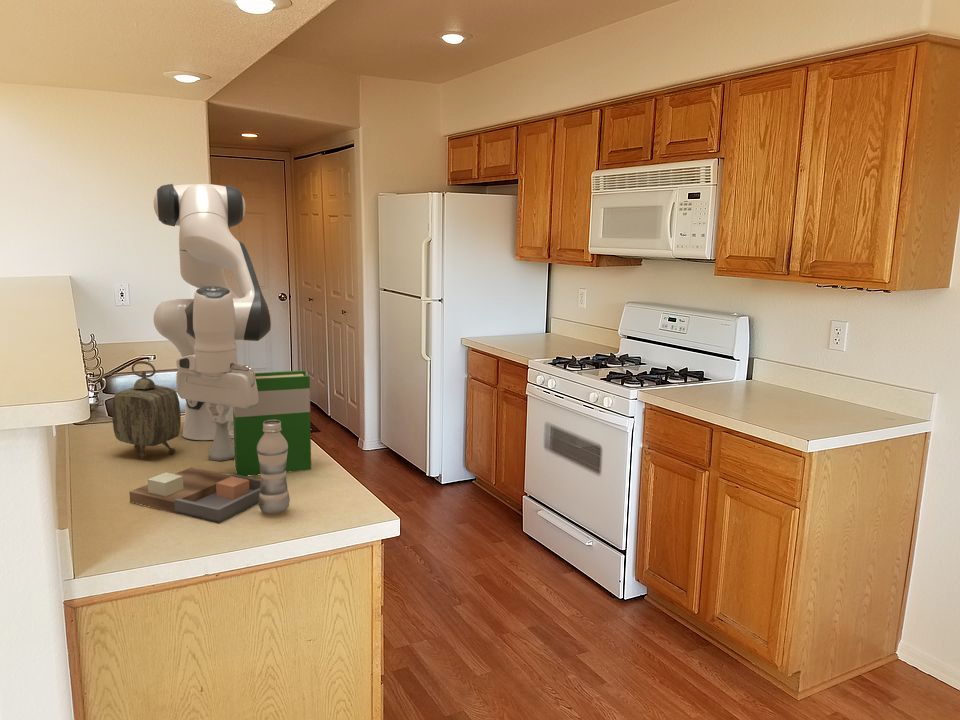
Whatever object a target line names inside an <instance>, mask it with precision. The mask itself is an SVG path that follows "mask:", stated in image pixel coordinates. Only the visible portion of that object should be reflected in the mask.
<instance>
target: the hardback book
mask: <svg viewBox="0 0 960 720" xmlns="http://www.w3.org/2000/svg"><path fill="white" fill-rule="evenodd" d="M310 377H311V376H310V375H306V370H303V369H302V370H287V371H284V370H283V371H269V372H268V371H267V372H266V371H265V372H255V379H256V384H257V389H258V399H259V401H258V403H257V405H256V406H254V407H252V408H248V409H244V408H238V407H233V423H234V438H233V445H234V450H235V458H234V469H235V468H236V469H235V473H236V472H237V473H236V474H237V475H242V476H247V477H249V476H248V475H254V476H259V475H258V474H260V464H259V459H258V454H257V444H258V442H259V440H260V439H261V437H262V436H263V434H264V432H263V422H264V421H268V420H279V421H281V431H280V433H281V434H282V435H283V437H284V438H285V440H286V441H287V444H288V452H287V461H286V473H290V472H289V471H293V472H299V470H303V471H310V469H311V470H312V441H311V440H312V439H311V436H312V435H311V434H312V433H311V386H310V385H311V382H310V381H311V380H310Z"/></svg>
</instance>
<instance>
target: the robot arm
mask: <svg viewBox="0 0 960 720" xmlns="http://www.w3.org/2000/svg"><path fill="white" fill-rule="evenodd" d="M153 197H154V198H153V209H154V214H156V216H157V218H158V221H160V223H162V224H163V225H165V226H170V227H176V226H179V233H178V234H179V236H178V246H179V247H178V248H179V249H178V251H179V252H178V254H179V268H180V276H181V278H182V279H183V280H184V282H186V283H187V284H188V285H190V286H192V287H194V288H197V289H196V290H195V291H194V295H193V298H176V299H171V300H167V301H161V302H160V303H159V304H158V306H157V307H156V308H155V310H154V313H153V325H154V327H155V329H156V330H157V331H156V332H158V333H159V334H160V335H161V336H162V337H164V338H165V339H167V340H168V341H170V342H171V343H172V344H173V345H174V346H175V348H177V350H178V352H179V354H180V355H181V357H178V358H177V359H176V360H175V364H176V367H177V368H178V369H177V371H176V378H175V379H176V380H175V381H176V393H177V395H178V398H180V399H182V400H185V401H186V403H185V408H184V409H185V410H184V421H183V423H184V424H183V426H182V437H183V438H185V439H188V440H193V441H194V440H195V441H214V438H215V435H216V428H217V427H216V423H220V424H223V423H225V422H226V419H228V420H229V422H228V424H227V425H228V431H229V435H230V438H231V439H234V423H233V407H238V408H244V409H248V408H252V407H254V406H256V405H257V403H258V401H259V399H258V389H257V384H256V379H255V373H256V372H255V371H254V370H253V369H252V368H251V367H250V366H249V365H246V364H245V365H242V364H239V363H238V346H237V342H236V341H239V340H240V341H249V342H250V341H251V342H252V341H253V342H259V341H260V340H261V339H263V338H264V337H265V336H266V335H268V333H269V332H270V331H271V327H272V314H271V310H270V309H269V307H268V306H269V305H268V304H267V302H266V299H265V297H264V295H263V293H262V289H261V285H260V283H259V280H258V277H257V275H256V271H255V268H254V266H253V262H252V260H251V257H250V254H249V251H248V250H247V248H246V245H245V244H244V243H243V242H242V241H239V240H238V239H237V238H235V236H234V235H233V233H231V231H230V228H233V227H235V226H238V225H239V224H240V223H241V222H243V220H244V217H245V214H246V205H247V204H246V201H245V198H244V196H243V193H242V191H241V190H240V189H239V188H238V187H235V186H232V185H219V184H212V183H211V184H210V183H198V184H197V183H185V184H173V183H170V184H163V185H161V186H159V187H158V188H157V190H156V193H155V194H154V196H153ZM225 270H228V271H229V272H230V273H233V274H234V276H235V277H236V279H237V282H238V285H239V290H240V292H241V295H242V297H239V296H238V295H236V293H234V292H233V290H232V289H231V287H230V286H229V284H228V281H227V278H226V274H225Z"/></svg>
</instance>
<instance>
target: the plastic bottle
mask: <svg viewBox="0 0 960 720" xmlns="http://www.w3.org/2000/svg"><path fill="white" fill-rule="evenodd" d="M280 431H281V421H279V420H268V421H264V422H263V432H264V434H263V436H262V437H261V439H260V440H259V442H258V444H257V454H258V459H259V464H260V475H259V476H260V479H261V481H260V493H259V501H258V503H259V504H258V508H259V510H260V511H261V512H262V513H263V514H266V515H279V514H282V513H285V512H286V511H287V509H288V508H289V507H290V500H291V499H290V493H289V488H288V481H287V472H286V461H287V452H288V444H287V441H286V440H285V438H284V437H283V435H282V434H281V433H280Z"/></svg>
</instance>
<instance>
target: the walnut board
mask: <svg viewBox="0 0 960 720" xmlns="http://www.w3.org/2000/svg"><path fill="white" fill-rule="evenodd" d="M174 474H176V475H180V476H183V489H182V490H180V491H177V492H175V493H173V494H170V495H168V496H162V495H157V494H153V493H149V492H148V483H147V484H145V485H143V486H140V487H137V488H134V489H132V490H129V503H131V502H134V503H133V504H135V503H138V504H137V505H139V504H142V505H141V506H143V505H146V506H145V507H147V506H150V507H149V508H151V507H154V508H153V509H156V508H157V510H160V509H161V510H160V511H164V510H165V511H164V512H168V511H169V512H168V513H172V512H173V513H174V514H176V513H175V503H174V500H175V499H177V498H179V499H184V500H188V501H192V502H195V501H197V500H199V499H201V498H204V497H206V496H208V495H210V494H213V493H215V492H216V483H217V482H220V481H222V480H224V479H227V478H229V477H231V475H232V474H226V473H222V472H217V471H212V470H207V469H202V468H196V467H192V466H191V467H189V468H186V469H184V470H181V471H179V472H176V473H174ZM173 513H172V514H173Z"/></svg>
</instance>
